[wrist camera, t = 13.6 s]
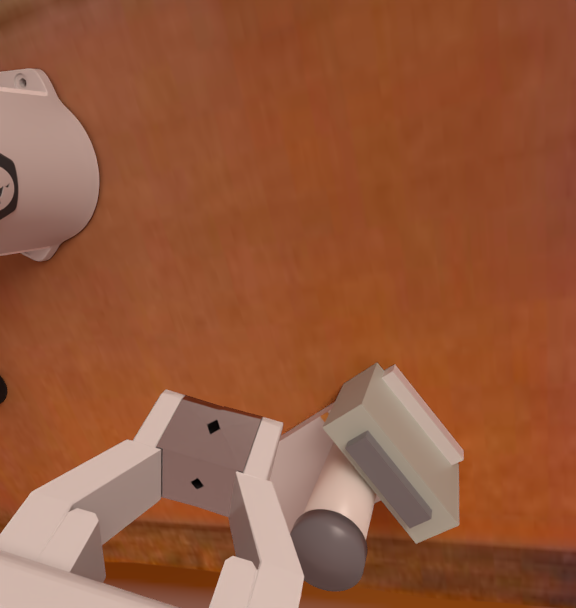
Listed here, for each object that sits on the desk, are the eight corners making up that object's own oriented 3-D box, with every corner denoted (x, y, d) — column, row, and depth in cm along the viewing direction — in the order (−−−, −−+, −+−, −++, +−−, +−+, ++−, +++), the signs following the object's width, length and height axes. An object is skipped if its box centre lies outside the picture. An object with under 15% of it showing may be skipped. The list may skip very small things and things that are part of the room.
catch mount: (294, 544, 54) (265, 615, 45) (225, 459, 53) (183, 515, 45) (470, 458, 44) (473, 528, 36) (387, 355, 44) (372, 402, 36)
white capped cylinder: (352, 491, 47) (318, 600, 36) (315, 446, 47) (270, 541, 35) (399, 467, 45) (380, 575, 33) (361, 419, 45) (328, 512, 33)
